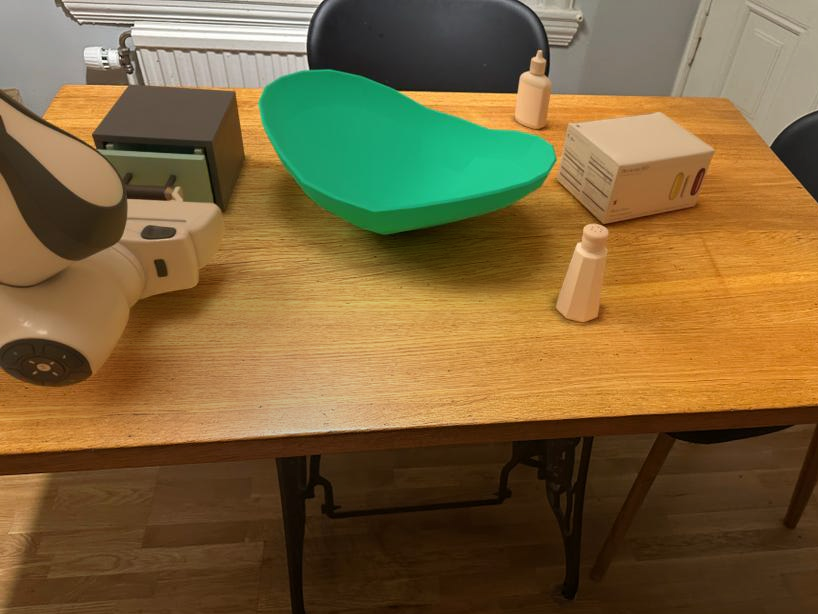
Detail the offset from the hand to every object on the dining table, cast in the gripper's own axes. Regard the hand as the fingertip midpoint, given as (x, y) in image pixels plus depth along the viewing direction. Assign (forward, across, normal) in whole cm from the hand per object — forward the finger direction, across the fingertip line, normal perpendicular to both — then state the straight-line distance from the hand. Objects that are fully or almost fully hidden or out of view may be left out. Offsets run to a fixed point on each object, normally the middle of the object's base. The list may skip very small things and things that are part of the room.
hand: (143, 190), depth 81 cm
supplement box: (+16, +63, -7) cm, 65 cm away
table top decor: (+8, +30, -7) cm, 32 cm away
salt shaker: (-11, +51, -7) cm, 53 cm away
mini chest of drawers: (+14, 0, -6) cm, 15 cm away
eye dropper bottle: (+39, +51, -7) cm, 64 cm away
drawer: (+8, 0, -6) cm, 10 cm away
